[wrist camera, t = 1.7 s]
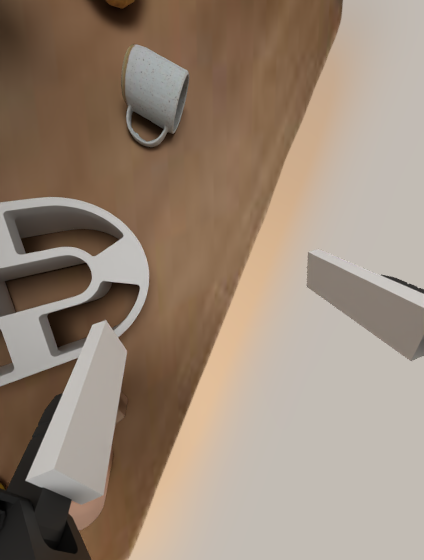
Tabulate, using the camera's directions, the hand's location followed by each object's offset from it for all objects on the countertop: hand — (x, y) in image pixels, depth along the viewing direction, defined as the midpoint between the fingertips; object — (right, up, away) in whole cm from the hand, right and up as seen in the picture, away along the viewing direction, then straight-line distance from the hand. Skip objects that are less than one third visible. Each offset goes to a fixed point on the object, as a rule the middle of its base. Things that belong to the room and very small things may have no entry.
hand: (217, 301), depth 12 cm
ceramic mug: (-10, +28, +20) cm, 36 cm away
